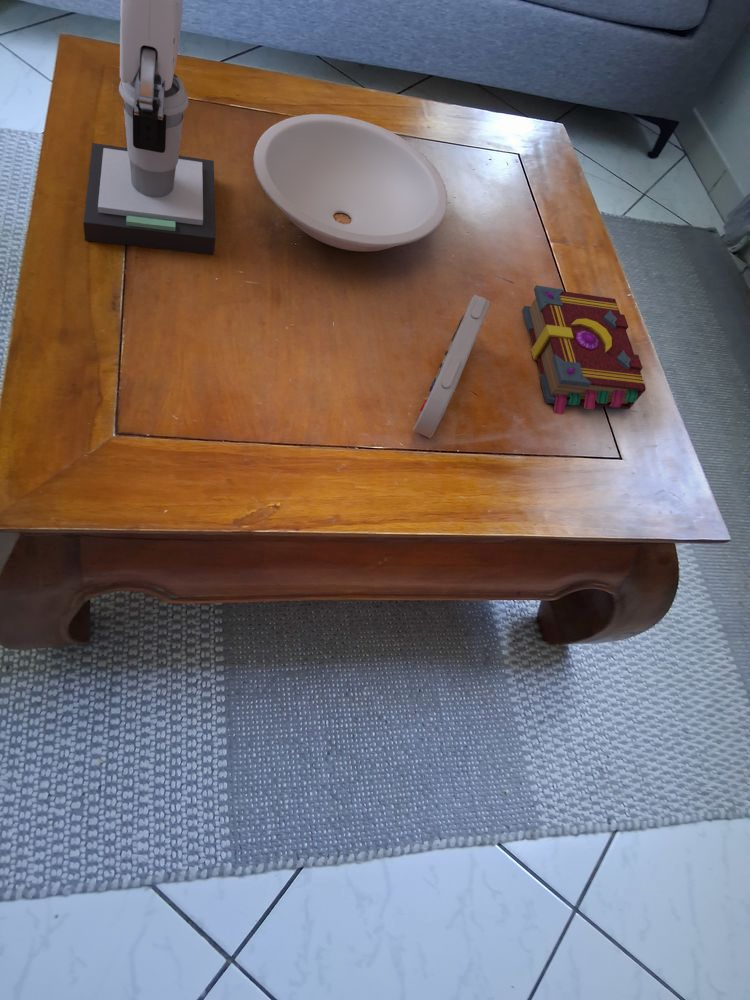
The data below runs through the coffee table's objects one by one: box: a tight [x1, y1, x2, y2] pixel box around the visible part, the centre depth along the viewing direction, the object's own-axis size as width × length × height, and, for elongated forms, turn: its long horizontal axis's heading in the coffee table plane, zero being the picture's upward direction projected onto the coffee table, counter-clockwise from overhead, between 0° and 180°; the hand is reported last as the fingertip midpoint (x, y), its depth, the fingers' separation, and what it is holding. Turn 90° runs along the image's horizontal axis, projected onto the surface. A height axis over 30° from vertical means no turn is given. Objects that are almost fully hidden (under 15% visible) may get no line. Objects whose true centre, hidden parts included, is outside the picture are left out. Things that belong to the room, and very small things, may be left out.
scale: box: [82, 142, 216, 256], centre depth 88 cm, size 14×14×3 cm
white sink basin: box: [252, 113, 448, 253], centre depth 95 cm, size 24×24×7 cm
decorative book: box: [522, 285, 647, 415], centre depth 92 cm, size 11×16×5 cm
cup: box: [118, 73, 189, 197], centre depth 82 cm, size 7×7×12 cm
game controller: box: [413, 294, 491, 439], centre depth 83 cm, size 20×2×8 cm, turn 160°
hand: (153, 126), depth 81 cm, fingers closed on cup, 6 cm apart
